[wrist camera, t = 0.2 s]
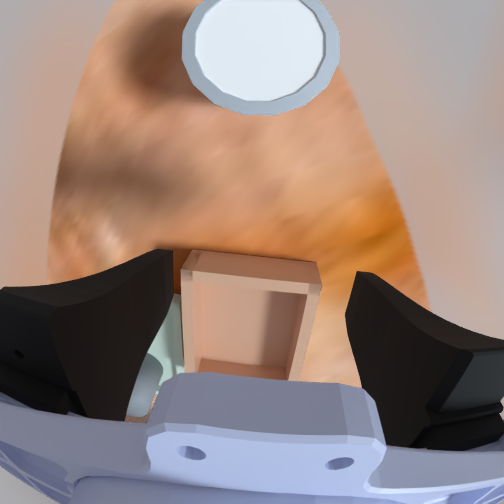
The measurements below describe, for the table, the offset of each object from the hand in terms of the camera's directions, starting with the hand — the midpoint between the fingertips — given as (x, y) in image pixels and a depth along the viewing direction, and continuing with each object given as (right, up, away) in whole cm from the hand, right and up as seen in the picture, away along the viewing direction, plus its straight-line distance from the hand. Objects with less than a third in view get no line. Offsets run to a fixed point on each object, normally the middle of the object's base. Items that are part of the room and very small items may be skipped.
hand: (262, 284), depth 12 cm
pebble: (-11, -10, +16) cm, 21 cm away
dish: (-1, -4, +13) cm, 13 cm away
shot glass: (0, +13, +5) cm, 14 cm away
